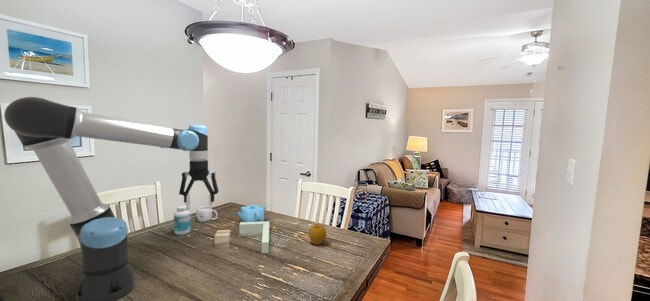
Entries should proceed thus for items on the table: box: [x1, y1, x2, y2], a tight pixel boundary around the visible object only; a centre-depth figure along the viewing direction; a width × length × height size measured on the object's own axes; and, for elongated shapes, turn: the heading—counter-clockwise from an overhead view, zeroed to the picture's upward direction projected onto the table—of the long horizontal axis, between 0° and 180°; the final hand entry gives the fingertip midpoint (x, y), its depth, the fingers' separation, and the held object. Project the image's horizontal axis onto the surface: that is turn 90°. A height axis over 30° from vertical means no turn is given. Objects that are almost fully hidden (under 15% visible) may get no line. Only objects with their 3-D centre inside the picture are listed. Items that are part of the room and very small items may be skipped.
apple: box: [308, 224, 327, 246], centre depth 129 cm, size 8×8×9 cm
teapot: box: [236, 204, 269, 222], centre depth 150 cm, size 16×18×11 cm
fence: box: [238, 220, 270, 254], centre depth 129 cm, size 26×15×5 cm, turn 11°
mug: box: [195, 205, 219, 223], centre depth 155 cm, size 12×8×8 cm
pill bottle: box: [173, 205, 191, 236], centre depth 137 cm, size 8×7×14 cm
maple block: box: [214, 229, 232, 249], centre depth 125 cm, size 6×6×6 cm
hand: (199, 209), depth 121 cm, fingers open, 9 cm apart
